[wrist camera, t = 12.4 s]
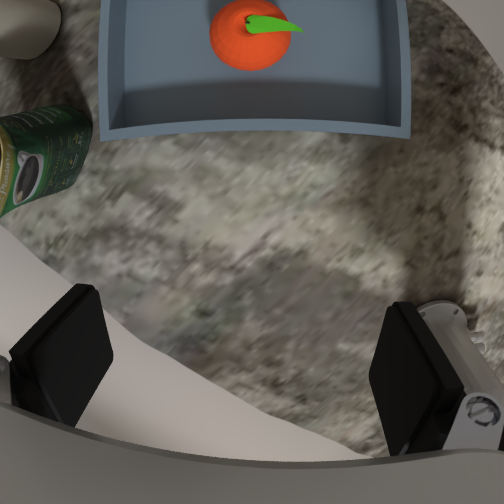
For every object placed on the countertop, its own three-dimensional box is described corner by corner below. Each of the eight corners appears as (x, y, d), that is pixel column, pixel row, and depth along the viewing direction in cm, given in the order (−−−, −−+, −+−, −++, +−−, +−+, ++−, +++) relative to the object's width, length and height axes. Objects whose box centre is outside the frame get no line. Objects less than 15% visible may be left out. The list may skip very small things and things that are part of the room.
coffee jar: (53, 97, 29) (-72, 107, 12) (103, 120, 30) (-23, 138, 13) (30, 170, 32) (-83, 219, 15) (75, 197, 34) (-37, 264, 17)
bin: (384, -18, 23) (400, -34, 18) (390, 135, 30) (410, 139, 25) (123, -13, 24) (104, -27, 19) (122, 137, 31) (100, 141, 26)
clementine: (298, 13, 24) (307, -14, 18) (299, 77, 27) (310, 65, 21) (215, 13, 25) (202, -13, 18) (215, 77, 27) (201, 65, 21)
